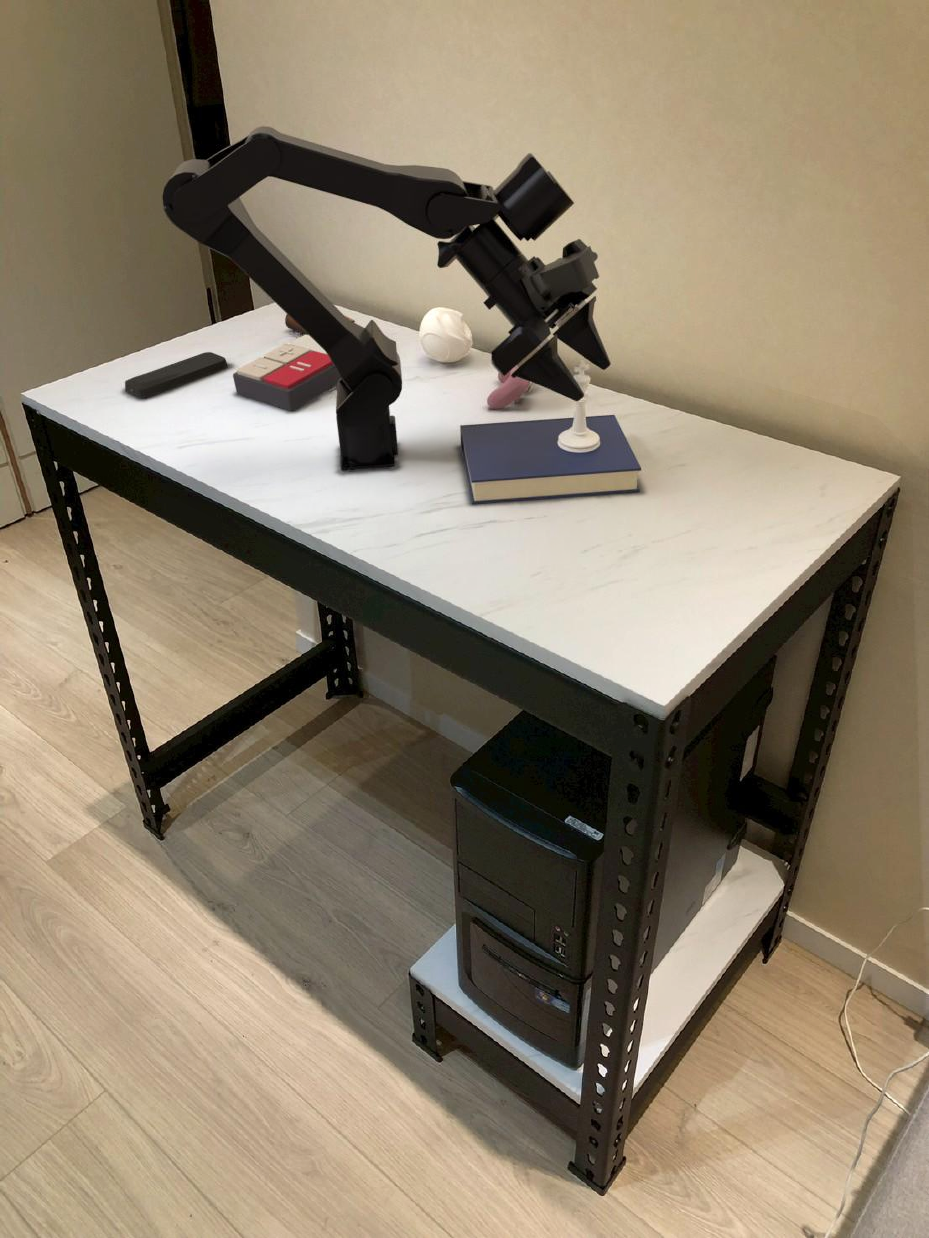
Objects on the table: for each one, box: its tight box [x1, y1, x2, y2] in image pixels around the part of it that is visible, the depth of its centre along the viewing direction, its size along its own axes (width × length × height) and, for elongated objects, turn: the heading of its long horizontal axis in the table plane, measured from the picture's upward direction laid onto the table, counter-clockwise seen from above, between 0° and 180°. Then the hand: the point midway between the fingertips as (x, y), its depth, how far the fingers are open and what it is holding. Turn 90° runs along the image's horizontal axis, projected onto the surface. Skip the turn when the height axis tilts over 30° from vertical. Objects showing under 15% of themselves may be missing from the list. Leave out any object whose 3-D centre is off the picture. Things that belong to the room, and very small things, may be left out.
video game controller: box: [486, 365, 534, 410], centre depth 131 cm, size 10×5×7 cm, turn 168°
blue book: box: [459, 414, 642, 505], centre depth 115 cm, size 19×14×3 cm
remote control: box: [124, 351, 229, 399], centre depth 140 cm, size 5×2×15 cm
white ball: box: [418, 307, 473, 364], centre depth 141 cm, size 8×8×8 cm
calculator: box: [232, 334, 341, 412], centre depth 137 cm, size 11×4×15 cm
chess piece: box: [558, 359, 600, 453], centre depth 111 cm, size 5×5×10 cm
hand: (594, 382), depth 109 cm, fingers open, 9 cm apart
